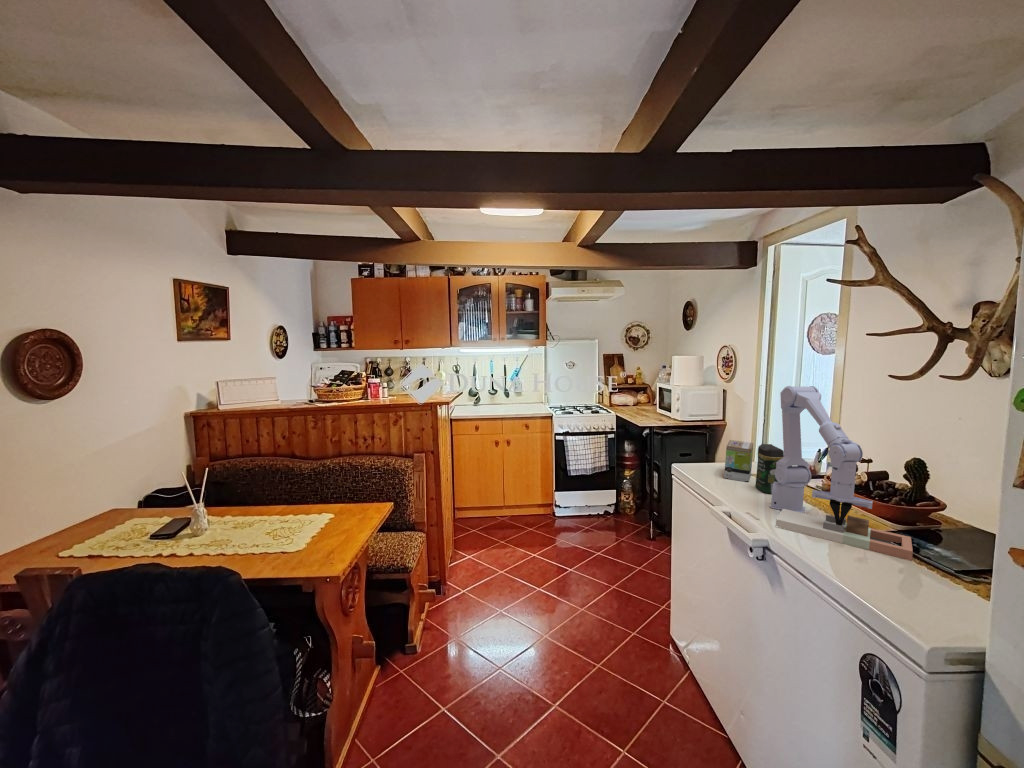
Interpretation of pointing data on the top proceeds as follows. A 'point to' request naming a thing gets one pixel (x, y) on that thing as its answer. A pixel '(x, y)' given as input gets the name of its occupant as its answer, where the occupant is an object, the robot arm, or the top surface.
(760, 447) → the coffee jar
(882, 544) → the board
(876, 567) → the top surface
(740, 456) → the tea box
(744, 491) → the top surface
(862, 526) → the walnut block
